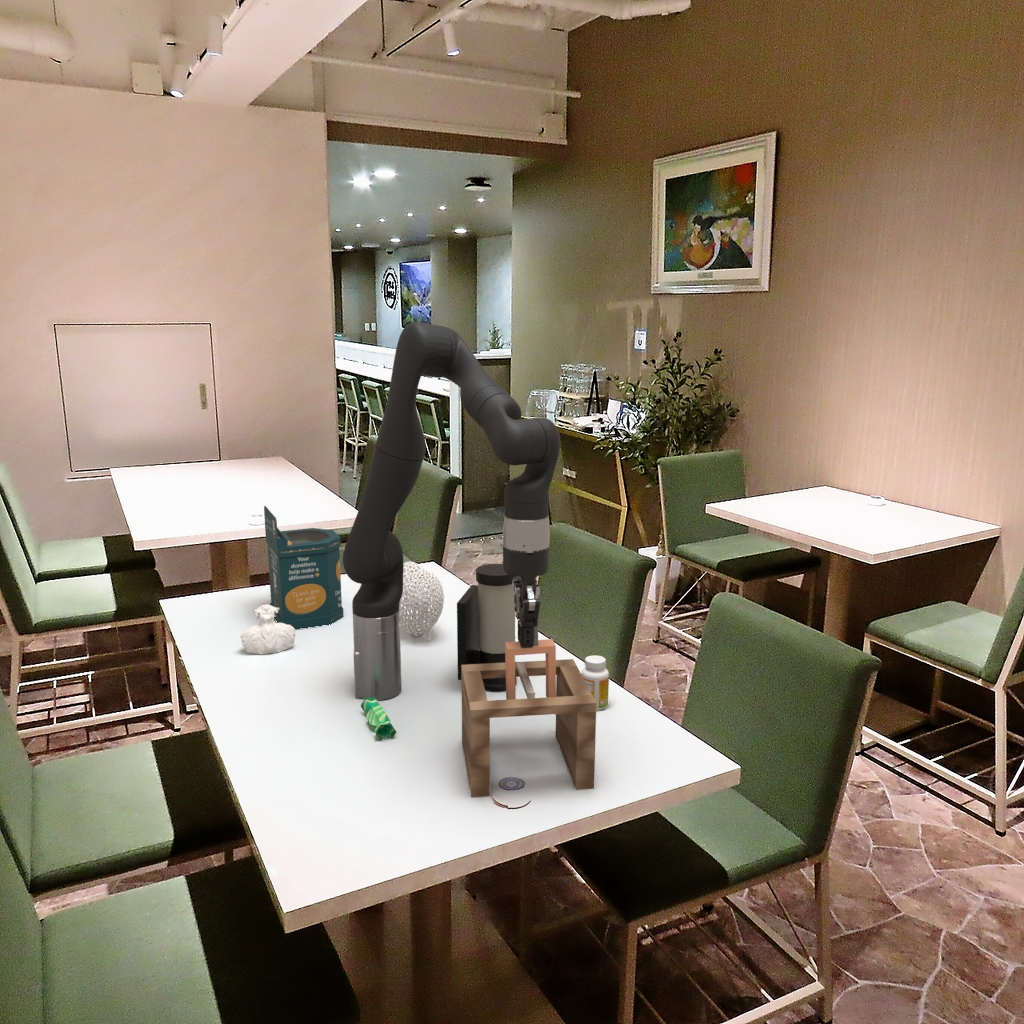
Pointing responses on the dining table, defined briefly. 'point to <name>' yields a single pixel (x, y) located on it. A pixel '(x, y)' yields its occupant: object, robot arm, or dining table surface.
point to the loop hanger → (538, 648)
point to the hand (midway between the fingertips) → (525, 643)
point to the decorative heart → (420, 600)
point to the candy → (378, 718)
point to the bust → (268, 633)
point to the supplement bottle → (597, 679)
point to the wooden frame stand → (568, 705)
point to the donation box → (304, 574)
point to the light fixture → (486, 622)
